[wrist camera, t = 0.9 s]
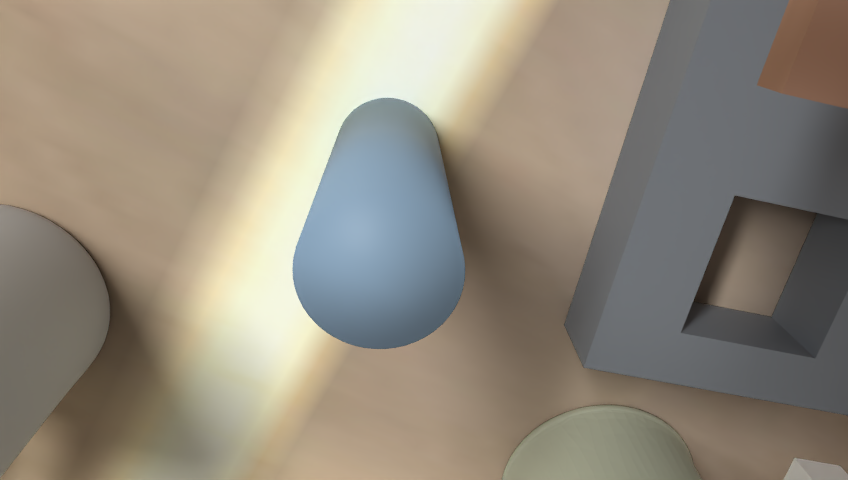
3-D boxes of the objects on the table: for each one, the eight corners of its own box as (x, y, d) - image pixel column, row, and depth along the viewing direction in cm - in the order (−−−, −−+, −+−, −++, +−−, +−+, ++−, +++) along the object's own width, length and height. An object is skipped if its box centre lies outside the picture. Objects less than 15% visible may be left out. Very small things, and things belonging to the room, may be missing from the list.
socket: (692, -68, 25) (736, -74, 22) (993, 8, 26) (1076, 14, 23) (564, 325, 31) (583, 367, 27) (818, 372, 32) (865, 418, 29)
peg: (346, 87, 27) (307, 174, 16) (449, 110, 27) (483, 210, 16) (328, 187, 28) (280, 332, 17) (426, 207, 29) (443, 361, 17)
